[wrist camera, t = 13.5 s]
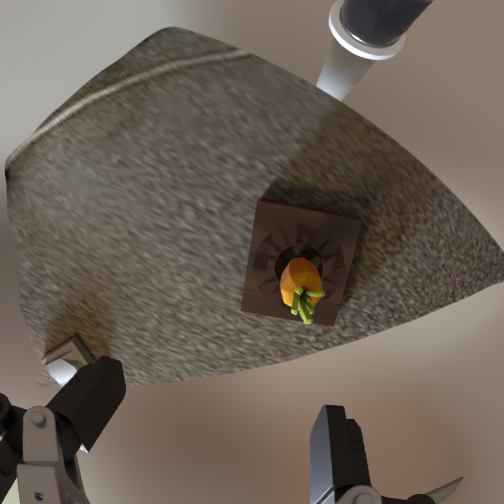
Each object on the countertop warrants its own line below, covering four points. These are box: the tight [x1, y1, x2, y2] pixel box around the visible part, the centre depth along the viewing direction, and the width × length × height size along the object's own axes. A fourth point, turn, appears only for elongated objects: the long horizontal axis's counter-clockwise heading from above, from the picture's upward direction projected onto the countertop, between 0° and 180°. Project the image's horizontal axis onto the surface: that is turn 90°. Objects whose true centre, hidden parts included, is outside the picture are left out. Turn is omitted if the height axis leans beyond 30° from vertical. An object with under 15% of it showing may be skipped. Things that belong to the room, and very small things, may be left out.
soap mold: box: [41, 336, 96, 387], centre depth 53 cm, size 10×20×4 cm, turn 120°
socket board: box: [240, 199, 362, 326], centre depth 39 cm, size 16×14×3 cm
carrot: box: [280, 257, 325, 324], centre depth 34 cm, size 5×5×15 cm
